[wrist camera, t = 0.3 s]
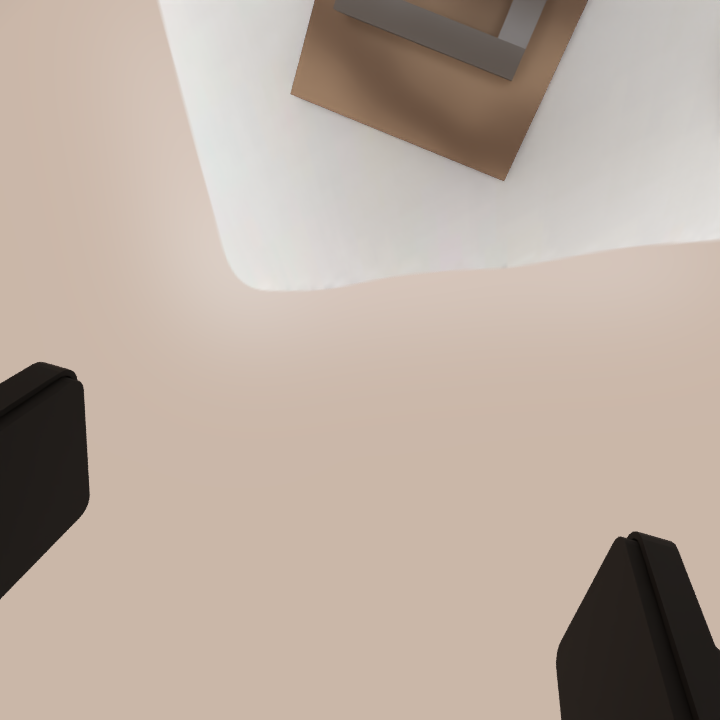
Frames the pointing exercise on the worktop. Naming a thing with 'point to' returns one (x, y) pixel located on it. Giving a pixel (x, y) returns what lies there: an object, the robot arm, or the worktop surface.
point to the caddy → (438, 70)
